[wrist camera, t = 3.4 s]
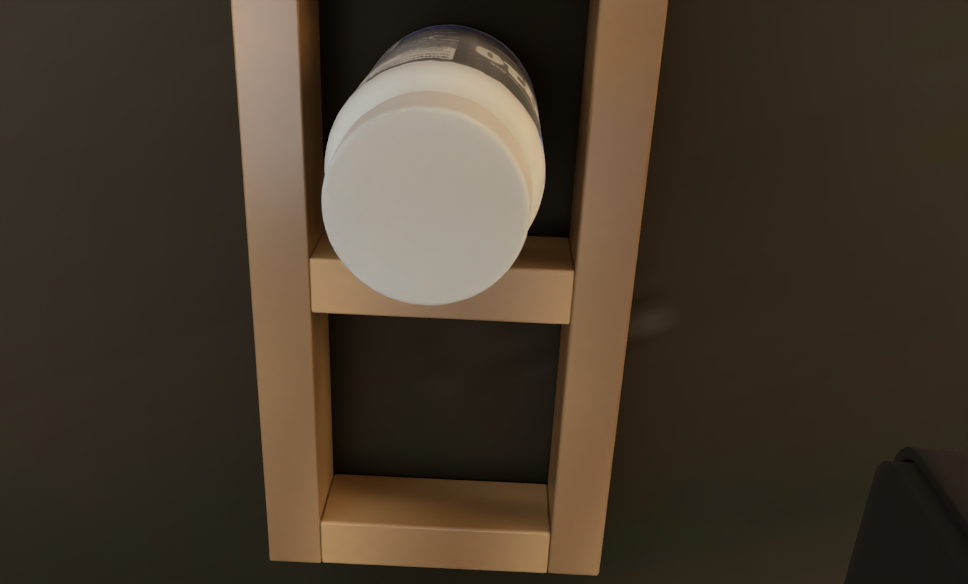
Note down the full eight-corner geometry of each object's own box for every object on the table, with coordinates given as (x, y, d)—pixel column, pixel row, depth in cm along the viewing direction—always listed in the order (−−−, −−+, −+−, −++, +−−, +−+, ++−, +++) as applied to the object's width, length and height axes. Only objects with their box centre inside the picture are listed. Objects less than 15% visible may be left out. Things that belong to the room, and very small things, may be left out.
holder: (287, 510, 30) (269, 561, 28) (251, -103, 22) (222, -102, 20) (591, 524, 30) (598, 577, 28) (661, -84, 22) (678, -80, 20)
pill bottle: (562, 157, 25) (588, 278, 17) (407, 218, 26) (367, 359, 18) (497, -9, 23) (495, 44, 16) (334, 62, 24) (254, 145, 16)
